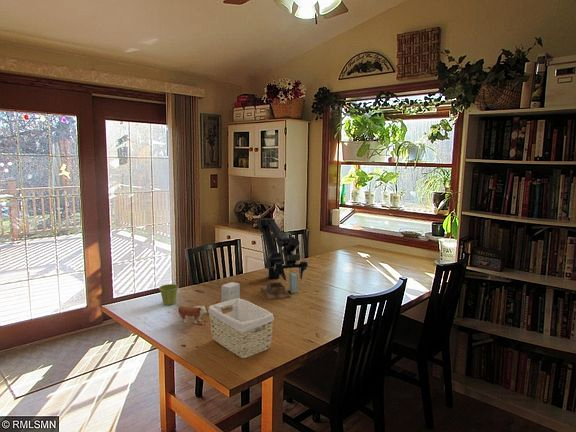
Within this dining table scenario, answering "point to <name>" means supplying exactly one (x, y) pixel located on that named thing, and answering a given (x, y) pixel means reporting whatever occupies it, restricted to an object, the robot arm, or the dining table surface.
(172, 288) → the plant pot
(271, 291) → the board
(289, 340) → the dining table surface
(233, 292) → the small box
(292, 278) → the pale blue rectangular block
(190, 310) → the bull figurine
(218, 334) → the storage basket
